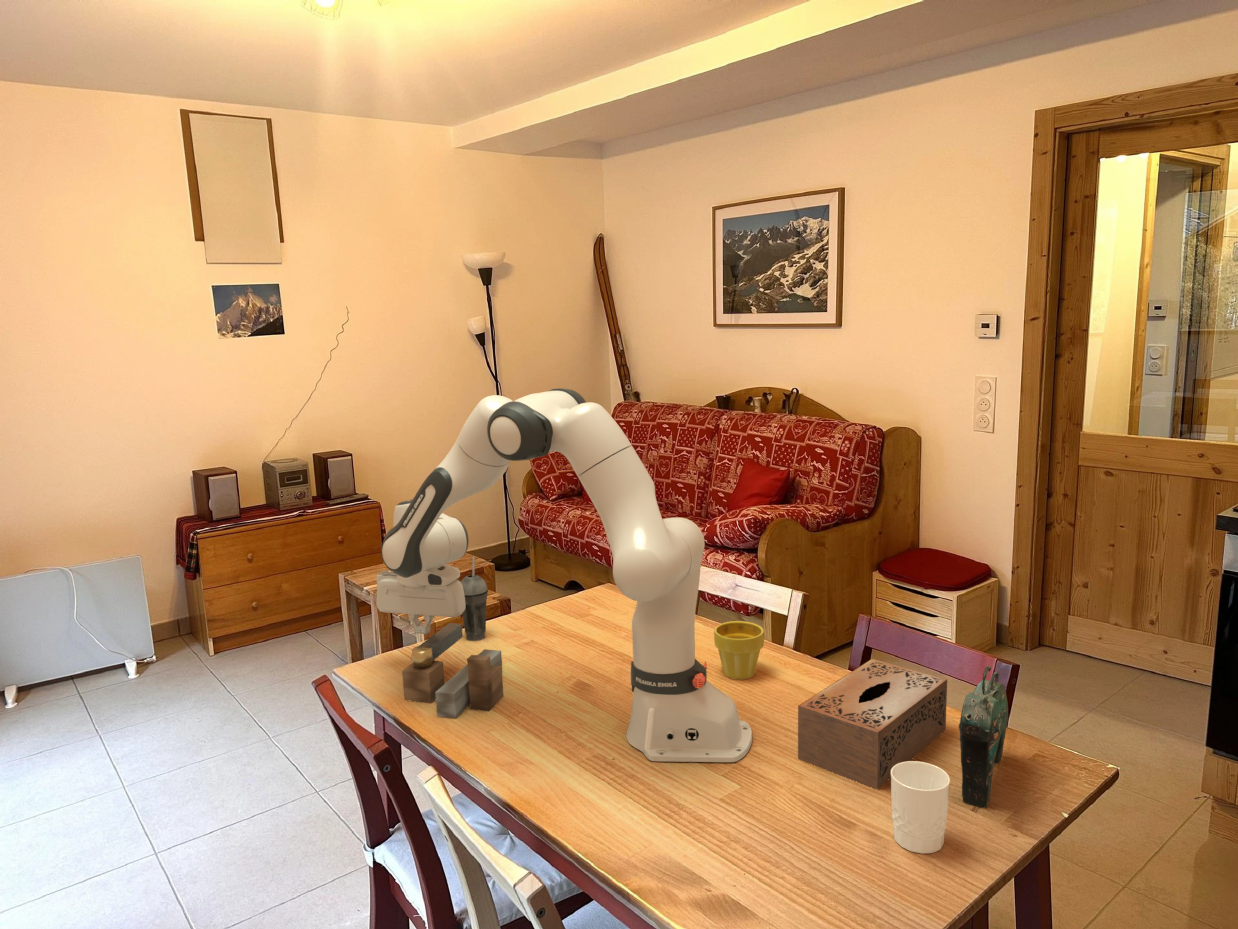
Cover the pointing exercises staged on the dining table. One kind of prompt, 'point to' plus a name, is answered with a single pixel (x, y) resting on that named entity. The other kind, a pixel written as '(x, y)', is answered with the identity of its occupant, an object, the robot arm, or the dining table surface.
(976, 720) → the dark green upright piece
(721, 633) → the plant pot
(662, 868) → the dining table surface
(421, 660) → the bar
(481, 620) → the beverage cup
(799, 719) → the tissue box cover
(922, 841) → the white cup
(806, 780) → the dining table surface
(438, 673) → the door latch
